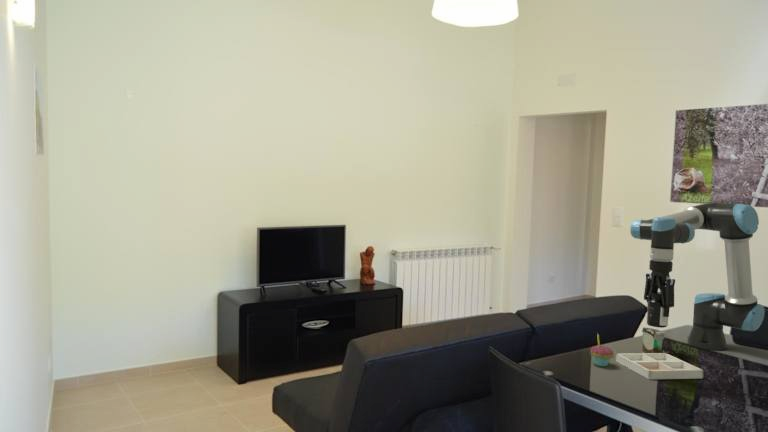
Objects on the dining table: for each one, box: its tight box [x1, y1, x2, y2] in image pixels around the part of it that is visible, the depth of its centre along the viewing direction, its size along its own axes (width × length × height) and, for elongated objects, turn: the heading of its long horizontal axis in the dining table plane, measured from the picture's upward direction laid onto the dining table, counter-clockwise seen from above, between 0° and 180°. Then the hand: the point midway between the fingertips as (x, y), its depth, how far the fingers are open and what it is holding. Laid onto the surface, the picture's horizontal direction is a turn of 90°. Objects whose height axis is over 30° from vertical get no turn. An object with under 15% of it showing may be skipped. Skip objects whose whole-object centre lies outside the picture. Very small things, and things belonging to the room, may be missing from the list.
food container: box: [641, 327, 666, 353], centre depth 241 cm, size 12×6×10 cm, turn 179°
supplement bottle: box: [646, 291, 668, 329], centre depth 214 cm, size 7×7×12 cm
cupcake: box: [589, 332, 615, 367], centre depth 225 cm, size 9×8×12 cm
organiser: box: [615, 352, 705, 380], centre depth 221 cm, size 21×21×3 cm
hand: (657, 322), depth 214 cm, fingers closed on supplement bottle, 7 cm apart
